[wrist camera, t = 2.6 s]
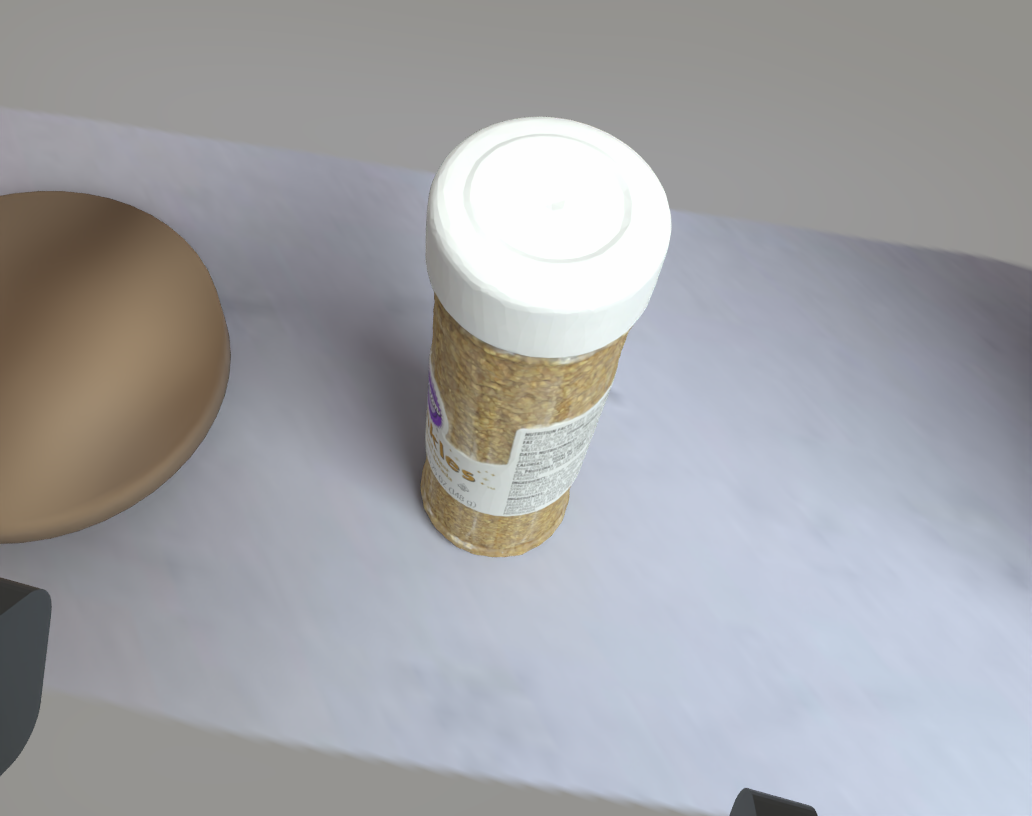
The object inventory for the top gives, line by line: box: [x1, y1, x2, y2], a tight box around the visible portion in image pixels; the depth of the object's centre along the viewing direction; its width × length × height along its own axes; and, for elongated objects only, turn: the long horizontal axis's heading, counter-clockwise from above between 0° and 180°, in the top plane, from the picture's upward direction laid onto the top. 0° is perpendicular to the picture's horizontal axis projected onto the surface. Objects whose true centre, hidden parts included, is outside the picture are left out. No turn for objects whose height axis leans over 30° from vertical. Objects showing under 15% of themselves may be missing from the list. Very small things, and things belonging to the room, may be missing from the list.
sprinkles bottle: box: [421, 117, 671, 557], centre depth 23 cm, size 5×5×13 cm
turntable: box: [0, 191, 231, 544], centre depth 28 cm, size 11×11×2 cm
